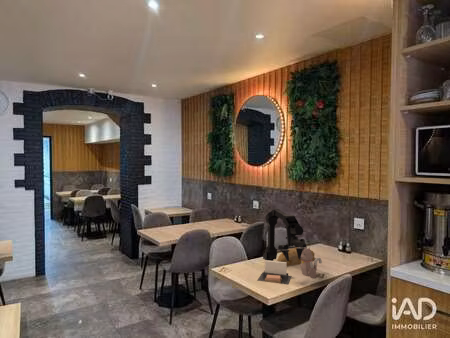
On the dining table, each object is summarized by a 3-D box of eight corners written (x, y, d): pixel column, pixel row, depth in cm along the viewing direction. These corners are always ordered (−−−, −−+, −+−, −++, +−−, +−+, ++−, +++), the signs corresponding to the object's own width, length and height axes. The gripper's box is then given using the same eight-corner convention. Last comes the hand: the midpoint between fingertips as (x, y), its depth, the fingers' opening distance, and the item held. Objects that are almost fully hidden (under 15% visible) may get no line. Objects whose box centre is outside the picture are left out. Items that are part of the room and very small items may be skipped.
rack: (262, 273, 216) (262, 268, 216) (291, 277, 209) (291, 272, 209) (257, 282, 201) (257, 276, 200) (288, 286, 194) (288, 280, 194)
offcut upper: (266, 276, 203) (266, 274, 203) (280, 277, 202) (280, 275, 202) (266, 279, 198) (266, 277, 198) (280, 280, 197) (280, 278, 197)
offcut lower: (266, 278, 205) (266, 276, 204) (281, 280, 201) (282, 278, 201) (264, 281, 199) (264, 279, 199) (280, 283, 196) (280, 281, 196)
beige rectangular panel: (265, 274, 211) (265, 260, 211) (286, 277, 206) (286, 262, 206) (264, 275, 209) (265, 261, 209) (286, 278, 204) (286, 263, 204)
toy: (296, 275, 214) (296, 246, 213) (316, 271, 222) (316, 243, 221) (305, 279, 206) (305, 249, 205) (325, 275, 214) (326, 246, 213)
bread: (307, 256, 257) (307, 244, 257) (317, 260, 248) (317, 247, 248) (273, 263, 239) (274, 250, 239) (283, 267, 229) (283, 254, 229)
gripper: (287, 236, 189) (290, 262, 186) (311, 234, 198) (313, 259, 195) (276, 236, 199) (279, 261, 196) (299, 234, 207) (302, 258, 205)
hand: (293, 260), depth 198 cm, fingers open, 9 cm apart
